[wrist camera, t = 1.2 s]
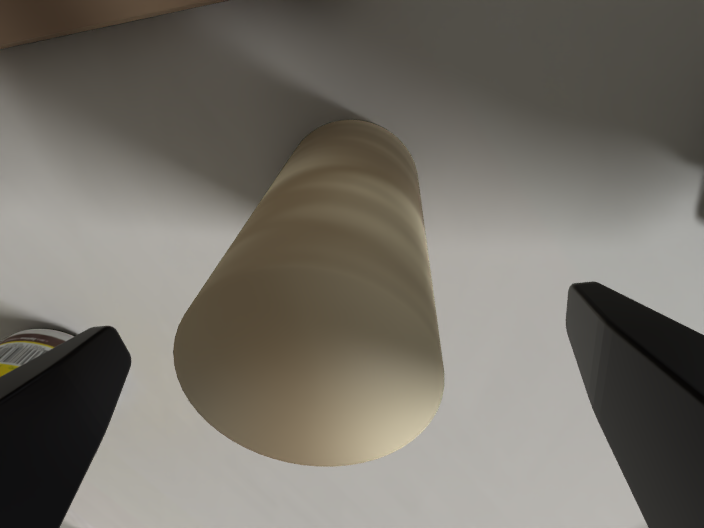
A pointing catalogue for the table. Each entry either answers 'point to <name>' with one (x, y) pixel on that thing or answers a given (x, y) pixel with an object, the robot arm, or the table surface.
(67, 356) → the robot arm
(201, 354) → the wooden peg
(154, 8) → the collar socket
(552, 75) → the table surface
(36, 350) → the supplement bottle
